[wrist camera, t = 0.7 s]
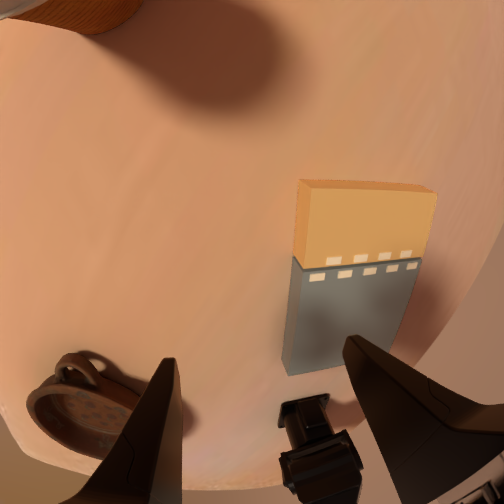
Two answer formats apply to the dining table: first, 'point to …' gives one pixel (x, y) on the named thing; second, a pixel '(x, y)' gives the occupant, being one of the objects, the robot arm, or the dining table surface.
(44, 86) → the dining table surface
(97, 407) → the dish
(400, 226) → the stub
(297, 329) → the grey flat block
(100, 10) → the disposable coffee cup
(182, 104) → the dining table surface
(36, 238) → the dining table surface
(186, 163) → the dining table surface
